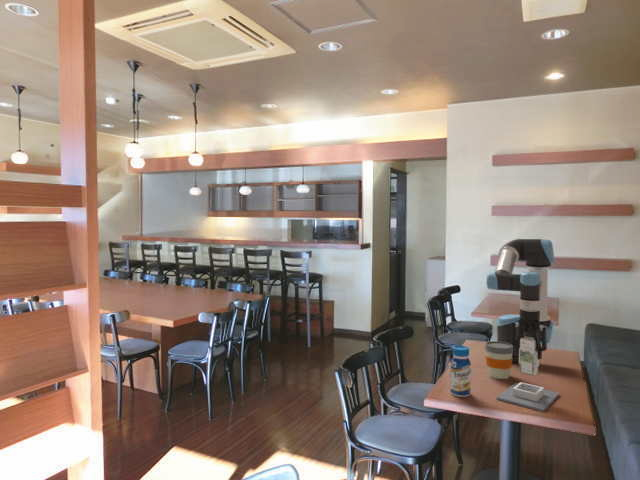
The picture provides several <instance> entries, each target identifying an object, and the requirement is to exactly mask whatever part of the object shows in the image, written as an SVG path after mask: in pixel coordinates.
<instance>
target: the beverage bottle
mask: <svg viewBox="0 0 640 480" xmlns="http://www.w3.org/2000/svg"><path fill="white" fill-rule="evenodd" d="M452 355H453V356H452V358H451V360H450V365H451V366H450V367H449V368H450V369H449V370H450V394H452V395H453V396H456V397H459V398H466V397H469V396H470V395H471V375H472V369H471V366H472V364H471V361H470V359H469V356H470V348H469V347H467V346H465V345H454V346H453V347H452Z"/></svg>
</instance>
